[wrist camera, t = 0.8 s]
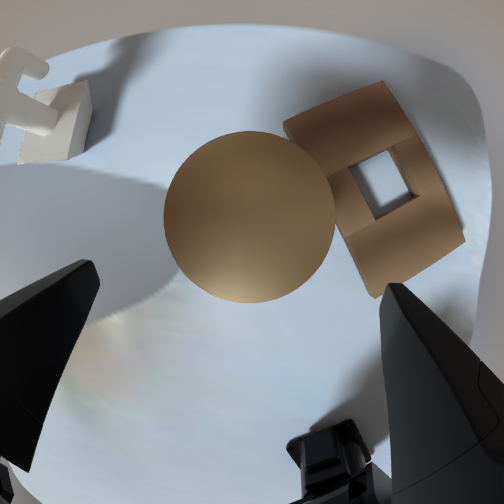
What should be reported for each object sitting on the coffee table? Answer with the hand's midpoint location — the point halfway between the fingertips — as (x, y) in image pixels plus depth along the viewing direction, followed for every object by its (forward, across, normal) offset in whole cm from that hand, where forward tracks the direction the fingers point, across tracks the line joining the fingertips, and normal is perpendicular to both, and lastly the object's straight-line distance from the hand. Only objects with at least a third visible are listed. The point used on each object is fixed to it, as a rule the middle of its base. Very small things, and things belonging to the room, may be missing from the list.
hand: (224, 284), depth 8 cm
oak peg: (+13, 0, +5) cm, 13 cm away
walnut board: (+15, -8, +2) cm, 17 cm away
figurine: (+16, +19, -3) cm, 25 cm away
